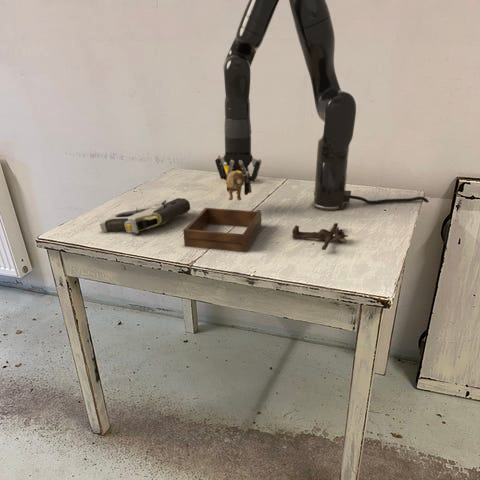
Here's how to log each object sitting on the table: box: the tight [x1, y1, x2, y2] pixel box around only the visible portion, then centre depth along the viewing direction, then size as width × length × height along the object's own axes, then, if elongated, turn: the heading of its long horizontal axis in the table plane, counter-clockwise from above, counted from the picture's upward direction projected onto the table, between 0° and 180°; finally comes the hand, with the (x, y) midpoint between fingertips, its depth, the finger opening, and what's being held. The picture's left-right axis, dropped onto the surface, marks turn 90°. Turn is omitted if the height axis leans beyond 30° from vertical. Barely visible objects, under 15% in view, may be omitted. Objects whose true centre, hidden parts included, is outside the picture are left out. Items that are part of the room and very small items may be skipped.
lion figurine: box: [226, 171, 252, 201], centre depth 145 cm, size 15×5×9 cm, turn 165°
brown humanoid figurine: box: [291, 222, 349, 251], centre depth 129 cm, size 18×4×14 cm
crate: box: [182, 207, 263, 253], centre depth 133 cm, size 17×18×4 cm
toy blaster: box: [99, 197, 191, 234], centre depth 142 cm, size 6×25×15 cm
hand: (238, 193), depth 146 cm, fingers closed on lion figurine, 4 cm apart
